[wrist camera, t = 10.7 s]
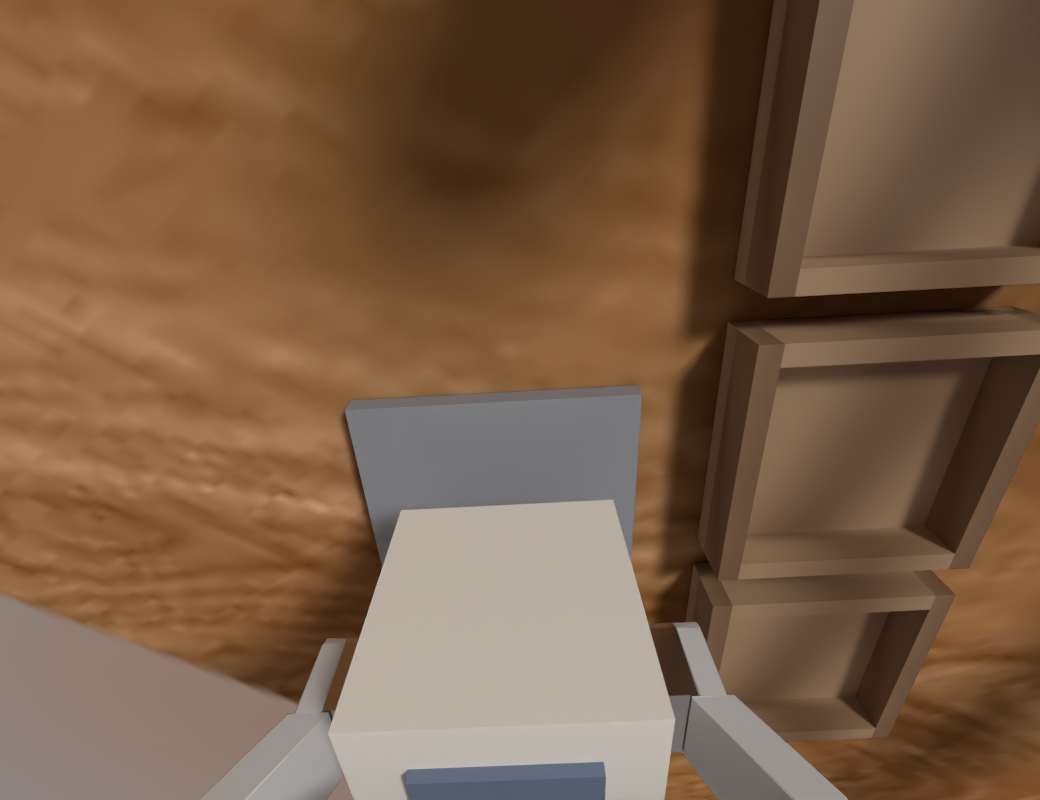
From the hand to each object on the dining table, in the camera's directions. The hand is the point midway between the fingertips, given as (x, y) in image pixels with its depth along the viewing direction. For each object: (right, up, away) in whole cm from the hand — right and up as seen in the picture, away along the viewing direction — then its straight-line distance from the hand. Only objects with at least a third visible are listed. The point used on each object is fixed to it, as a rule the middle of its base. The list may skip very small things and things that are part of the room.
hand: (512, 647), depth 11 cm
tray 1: (+9, +12, 0) cm, 15 cm away
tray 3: (+10, -3, +7) cm, 13 cm away
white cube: (0, +1, +2) cm, 2 cm away
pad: (0, +2, +5) cm, 5 cm away
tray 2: (+10, +4, +4) cm, 11 cm away
